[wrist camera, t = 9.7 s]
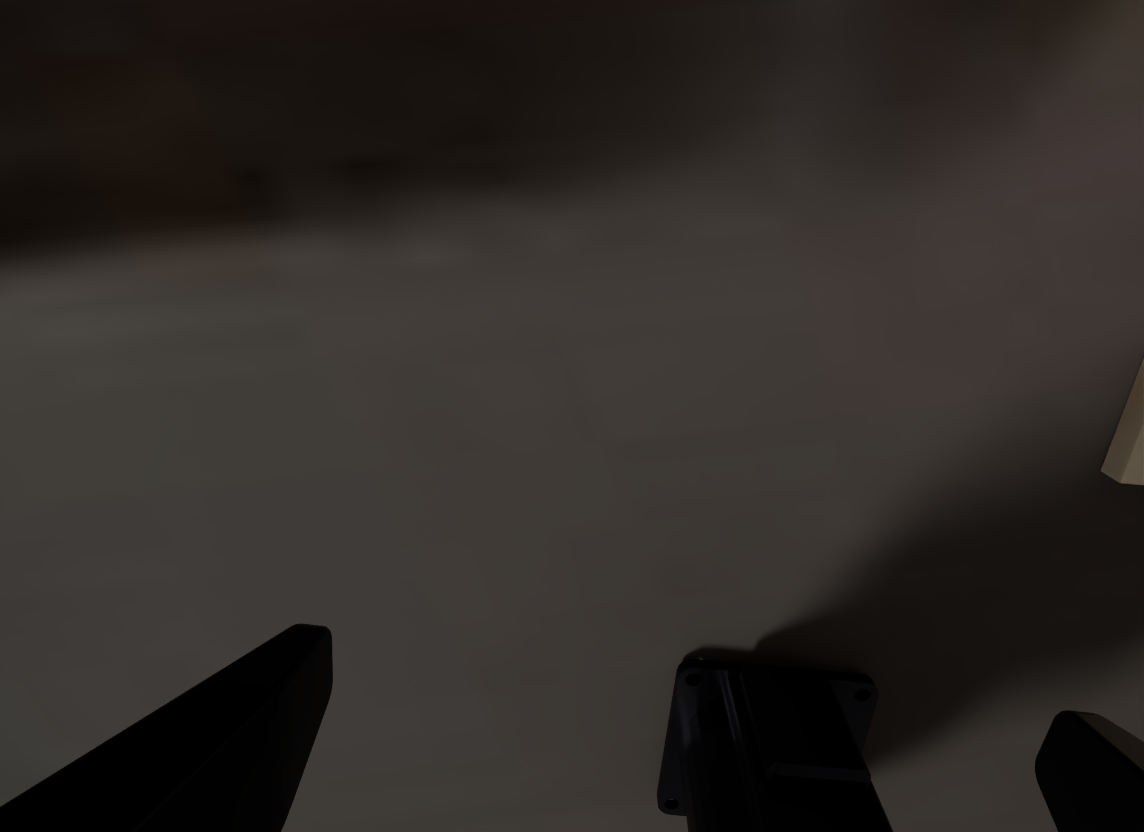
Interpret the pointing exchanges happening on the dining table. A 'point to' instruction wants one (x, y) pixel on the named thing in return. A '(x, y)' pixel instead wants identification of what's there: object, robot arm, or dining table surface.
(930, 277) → the dining table surface
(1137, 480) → the roll holder
